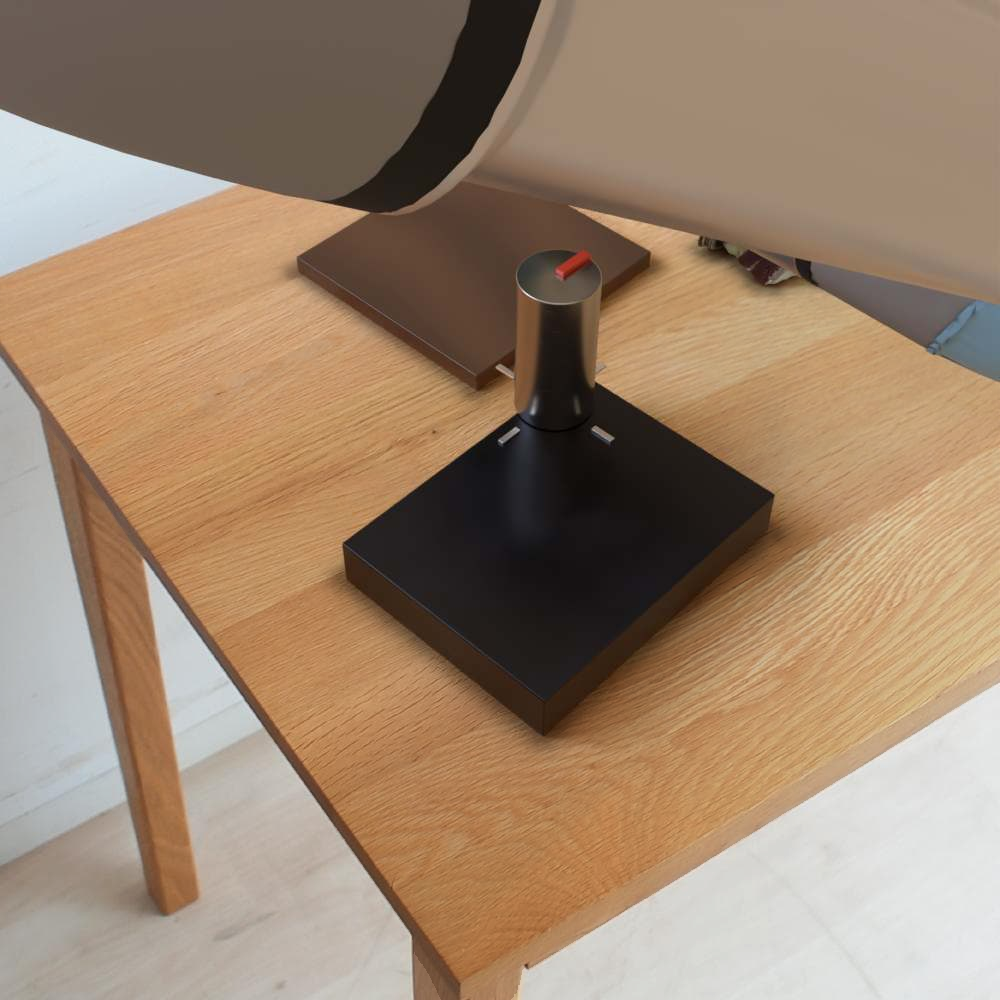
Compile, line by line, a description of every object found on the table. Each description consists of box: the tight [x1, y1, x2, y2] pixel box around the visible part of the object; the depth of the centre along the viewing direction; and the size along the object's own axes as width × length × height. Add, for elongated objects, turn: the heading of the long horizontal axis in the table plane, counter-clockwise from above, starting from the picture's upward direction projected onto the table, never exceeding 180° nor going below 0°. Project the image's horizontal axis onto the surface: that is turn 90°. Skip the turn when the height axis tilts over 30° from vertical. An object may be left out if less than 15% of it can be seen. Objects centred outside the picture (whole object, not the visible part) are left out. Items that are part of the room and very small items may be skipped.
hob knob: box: [513, 249, 602, 430], centre depth 77 cm, size 4×4×9 cm
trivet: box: [296, 181, 652, 391], centre depth 92 cm, size 16×16×1 cm
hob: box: [341, 361, 776, 737], centre depth 77 cm, size 19×17×3 cm
